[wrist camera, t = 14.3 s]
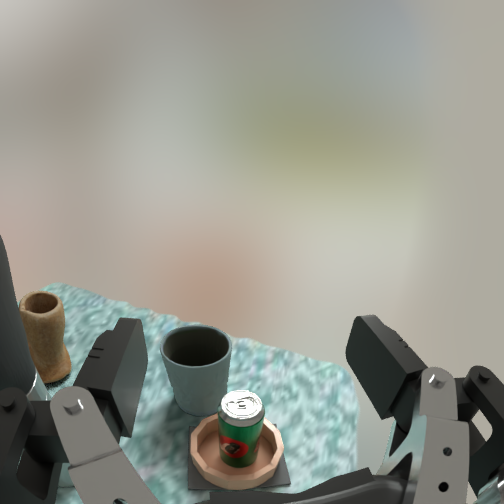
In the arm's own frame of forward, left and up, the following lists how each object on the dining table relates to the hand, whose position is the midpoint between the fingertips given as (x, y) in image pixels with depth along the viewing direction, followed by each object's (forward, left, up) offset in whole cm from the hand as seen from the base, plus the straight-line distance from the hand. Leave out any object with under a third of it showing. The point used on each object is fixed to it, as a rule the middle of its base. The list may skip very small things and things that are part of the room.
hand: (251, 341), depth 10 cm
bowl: (+1, +11, -30) cm, 32 cm away
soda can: (+1, +11, -29) cm, 31 cm away
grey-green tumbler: (-4, +23, -30) cm, 38 cm away
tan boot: (-35, +28, -30) cm, 54 cm away
